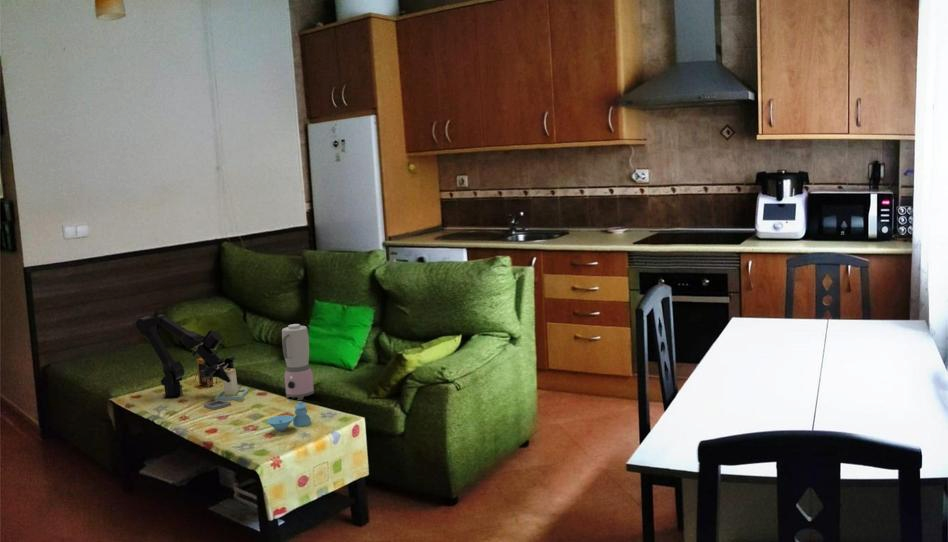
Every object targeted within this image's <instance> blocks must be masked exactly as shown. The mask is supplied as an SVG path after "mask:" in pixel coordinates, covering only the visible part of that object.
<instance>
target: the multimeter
mask: <svg viewBox="0 0 948 542" xmlns="http://www.w3.org/2000/svg"><path fill="white" fill-rule="evenodd" d="M199 346H200V345H199ZM197 348H198V346H197V347H196V349H197ZM204 362H205V361H204V360H203V359H202V358H201V357H200V358H198V355H196V366H197V367H196V368H197V370H196V371H197V372H196V374H195V378H194V380H197V376H198V383H199V384H198V386H200V385H206V386H205V387H207V386H210V385H213V384H214V383H213V382H214V377H213V378H210V379H207V378H204V379H203V378H202V377H201V376H200V374H199V372H200V371H201V370H204V369H205V367H206V366H205V365H204ZM217 378H218V377H215V382H216V383H215V384H216V385H218V380H217ZM213 386H214V385H213Z"/></svg>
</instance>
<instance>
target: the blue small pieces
mask: <svg viewBox="0 0 948 542" xmlns="http://www.w3.org/2000/svg"><path fill="white" fill-rule="evenodd" d="M294 409H295V410H294V414H295V416H293V415H288V414H287V415H286V414H285V415H283V414H282V415H276V416H273V417H270V418H268V419H266V423H267V424H269V425H270V426H271V427H272V428H274V429H275V430H277V432H284V431H286V429H287V428H288V427H289V425H291V423H292V425H293V426H294V427H297V428H298V427H300V428H302V427H307V426H309V425H311V423H312V422H311V417H310V415H308V409H307V404H305V403H303V401H302V400H299V401H298V403H297V404H296V405H294Z"/></svg>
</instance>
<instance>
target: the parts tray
mask: <svg viewBox="0 0 948 542" xmlns="http://www.w3.org/2000/svg"><path fill="white" fill-rule="evenodd" d="M239 392H243V393H242V394H241V395H239V396H238V395H237V396H231V397H225V392H224V389H223V390H221V391H220V392H219V393H218V394H217V395H216V396H214V401H217V400H223V401H240V400H243V399H244V398H245V396H246V395H247V394H248V393H249V388H246V389H238V393H239ZM247 392H248V393H247ZM246 393H247V394H246ZM245 394H246V395H245Z"/></svg>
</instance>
